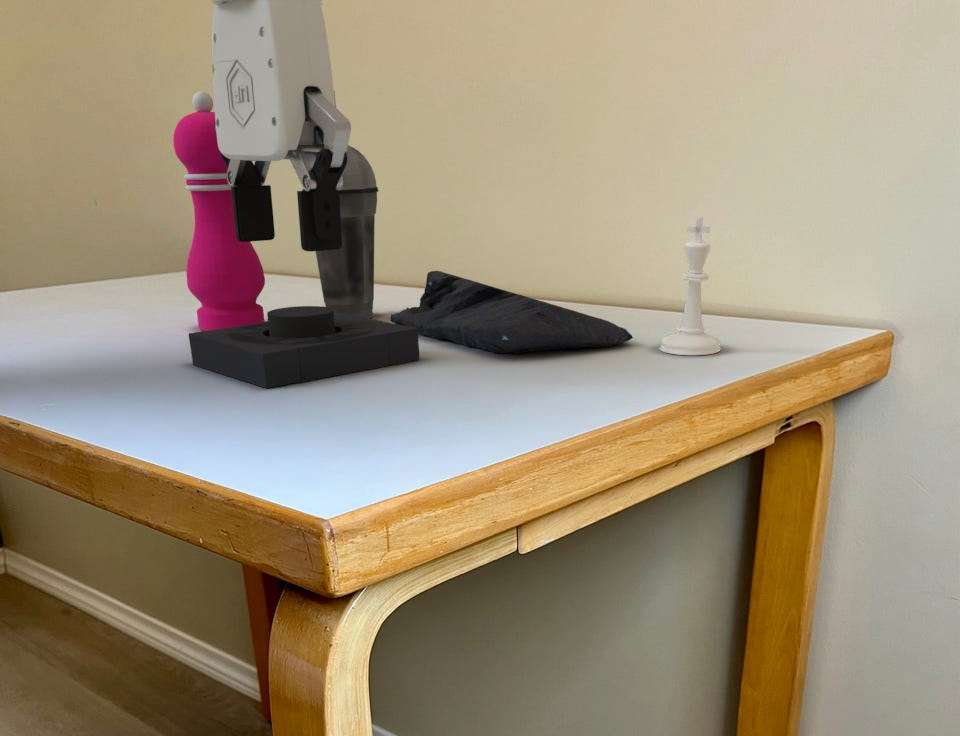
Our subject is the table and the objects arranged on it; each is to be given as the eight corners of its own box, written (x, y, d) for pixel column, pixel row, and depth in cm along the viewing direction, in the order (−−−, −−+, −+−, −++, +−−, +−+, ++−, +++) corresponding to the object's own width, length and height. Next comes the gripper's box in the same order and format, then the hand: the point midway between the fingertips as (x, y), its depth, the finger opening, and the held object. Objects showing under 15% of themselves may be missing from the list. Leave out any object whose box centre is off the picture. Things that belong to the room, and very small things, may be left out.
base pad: (266, 388, 73) (262, 353, 72) (192, 365, 81) (187, 333, 80) (419, 360, 81) (418, 328, 80) (338, 341, 89) (335, 312, 88)
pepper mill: (280, 320, 100) (255, 91, 91) (253, 334, 93) (223, 88, 84) (212, 320, 101) (180, 93, 92) (181, 333, 95) (143, 91, 86)
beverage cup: (314, 325, 97) (291, 88, 88) (313, 313, 104) (292, 92, 94) (389, 321, 98) (374, 87, 89) (383, 310, 104) (369, 90, 95)
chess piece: (667, 342, 85) (675, 214, 81) (725, 345, 84) (737, 215, 79) (653, 353, 81) (660, 219, 77) (714, 357, 80) (725, 220, 75)
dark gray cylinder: (294, 372, 78) (288, 318, 76) (261, 362, 82) (254, 311, 80) (350, 362, 81) (346, 310, 79) (315, 353, 85) (311, 303, 83)
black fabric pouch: (483, 366, 78) (482, 303, 76) (381, 325, 96) (378, 273, 94) (647, 346, 84) (650, 286, 82) (522, 311, 102) (522, 261, 100)
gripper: (160, -13, 73) (191, 240, 81) (282, -41, 61) (305, 258, 69) (252, -5, 77) (273, 234, 85) (383, -30, 66) (393, 250, 73)
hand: (287, 245), depth 77 cm, fingers open, 9 cm apart
